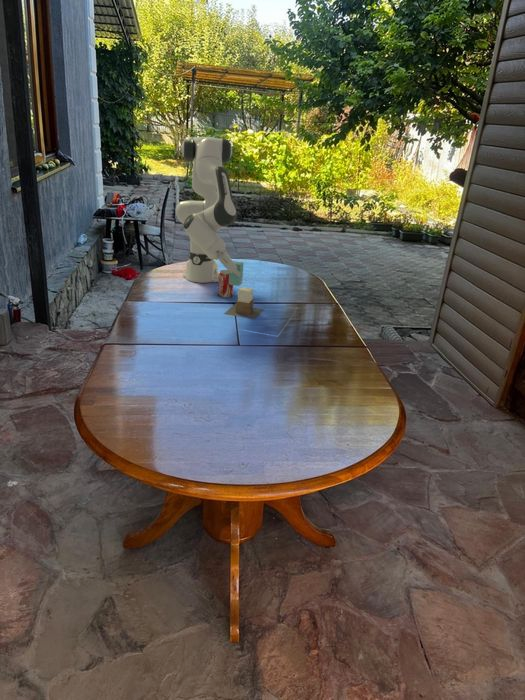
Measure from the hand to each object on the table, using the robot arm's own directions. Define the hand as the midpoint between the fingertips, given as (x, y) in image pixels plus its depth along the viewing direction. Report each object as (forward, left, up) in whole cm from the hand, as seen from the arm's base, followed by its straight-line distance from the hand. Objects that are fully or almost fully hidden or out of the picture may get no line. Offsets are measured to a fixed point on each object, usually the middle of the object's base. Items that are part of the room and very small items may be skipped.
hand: (237, 272), depth 214 cm
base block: (-2, +3, -17) cm, 18 cm away
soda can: (-19, -12, -18) cm, 29 cm away
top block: (-2, +3, -12) cm, 13 cm away
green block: (0, -1, -5) cm, 5 cm away
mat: (-2, +3, -18) cm, 18 cm away
